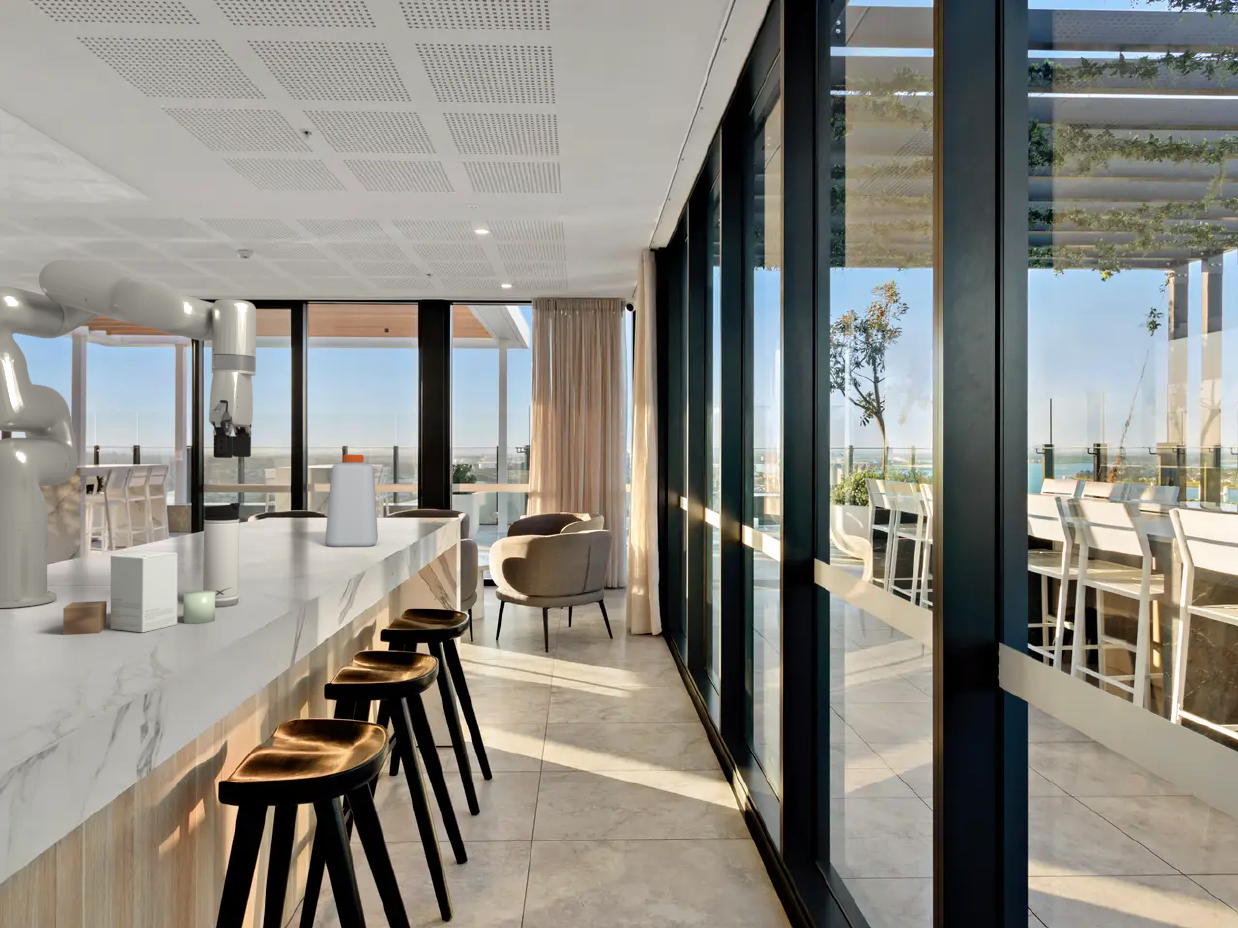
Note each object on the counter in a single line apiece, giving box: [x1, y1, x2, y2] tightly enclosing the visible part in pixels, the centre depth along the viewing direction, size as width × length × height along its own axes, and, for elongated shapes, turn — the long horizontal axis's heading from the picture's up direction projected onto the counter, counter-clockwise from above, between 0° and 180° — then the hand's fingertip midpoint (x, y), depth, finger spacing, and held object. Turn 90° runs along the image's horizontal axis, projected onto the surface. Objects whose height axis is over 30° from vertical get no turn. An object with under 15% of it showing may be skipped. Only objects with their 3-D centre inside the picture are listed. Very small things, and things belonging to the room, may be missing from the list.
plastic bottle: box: [325, 454, 379, 548], centre depth 257 cm, size 15×15×28 cm
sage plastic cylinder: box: [182, 590, 216, 625], centre depth 146 cm, size 5×5×5 cm
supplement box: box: [110, 550, 178, 633], centre depth 141 cm, size 7×7×13 cm
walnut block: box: [62, 600, 108, 636], centre depth 137 cm, size 5×5×4 cm
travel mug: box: [202, 502, 241, 608], centre depth 161 cm, size 6×7×20 cm
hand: (232, 457), depth 155 cm, fingers open, 9 cm apart
